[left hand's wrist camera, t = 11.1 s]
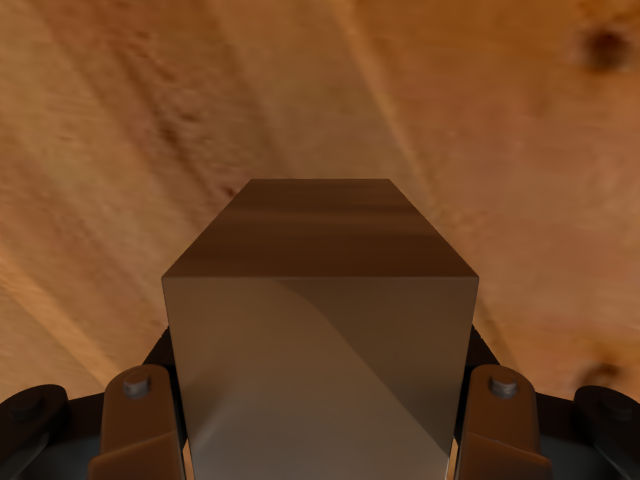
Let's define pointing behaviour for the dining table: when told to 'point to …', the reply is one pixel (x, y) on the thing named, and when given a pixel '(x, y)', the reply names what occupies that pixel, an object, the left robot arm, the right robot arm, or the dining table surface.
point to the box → (320, 335)
